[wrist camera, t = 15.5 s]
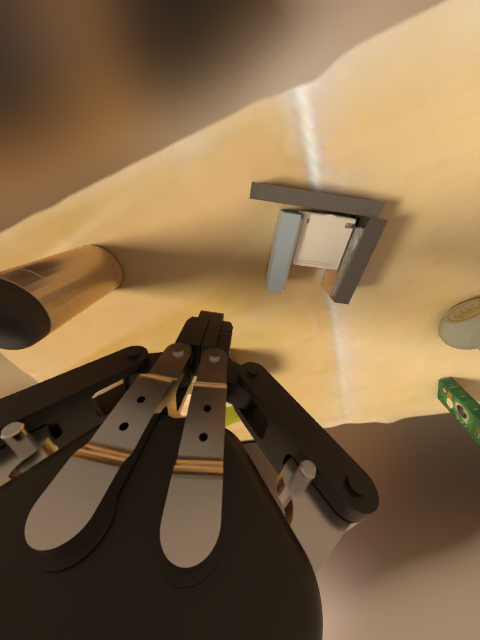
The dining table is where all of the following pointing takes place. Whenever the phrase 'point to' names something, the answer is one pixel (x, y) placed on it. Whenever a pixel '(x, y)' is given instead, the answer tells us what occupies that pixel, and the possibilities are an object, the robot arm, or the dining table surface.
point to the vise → (361, 238)
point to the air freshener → (462, 326)
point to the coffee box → (460, 406)
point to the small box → (322, 239)
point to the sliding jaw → (282, 250)
